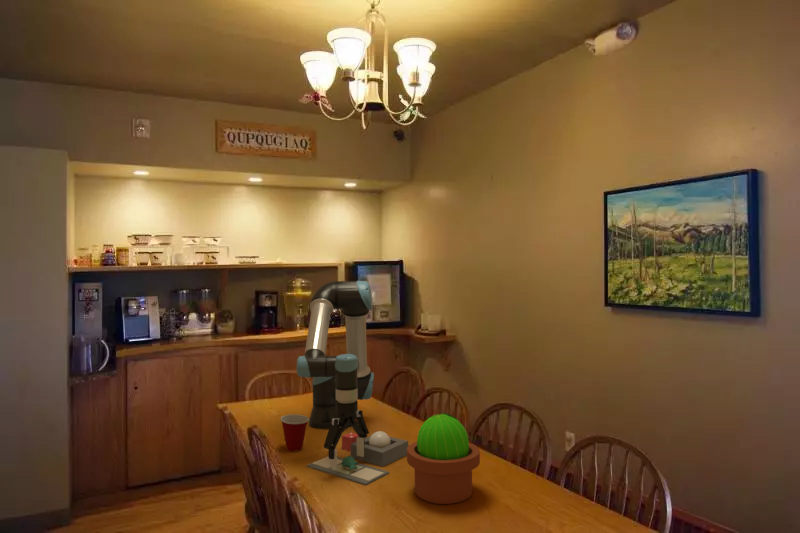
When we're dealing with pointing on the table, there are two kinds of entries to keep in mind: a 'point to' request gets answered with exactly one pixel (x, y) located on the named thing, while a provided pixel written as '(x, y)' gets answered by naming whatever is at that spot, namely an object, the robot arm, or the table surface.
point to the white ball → (379, 439)
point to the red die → (348, 440)
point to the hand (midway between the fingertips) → (347, 461)
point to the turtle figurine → (349, 463)
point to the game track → (349, 471)
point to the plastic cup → (294, 430)
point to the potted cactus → (443, 460)
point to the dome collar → (381, 452)
